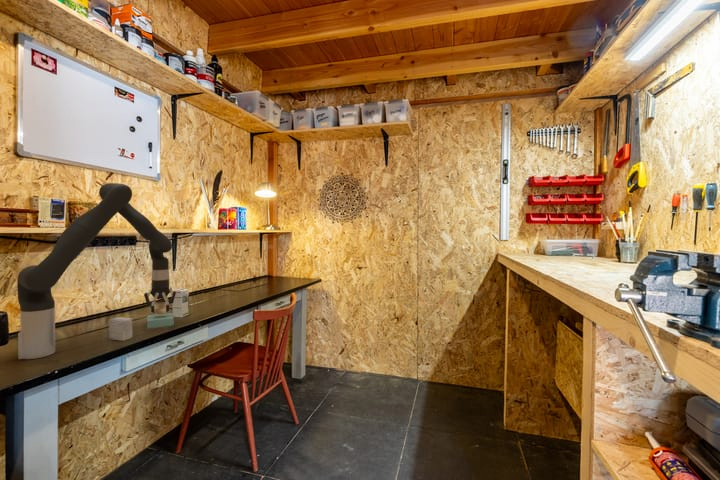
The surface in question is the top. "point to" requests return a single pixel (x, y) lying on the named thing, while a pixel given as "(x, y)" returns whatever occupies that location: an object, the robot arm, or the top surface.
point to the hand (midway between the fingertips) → (160, 312)
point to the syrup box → (181, 303)
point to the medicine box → (120, 328)
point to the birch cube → (160, 308)
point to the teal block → (160, 320)
